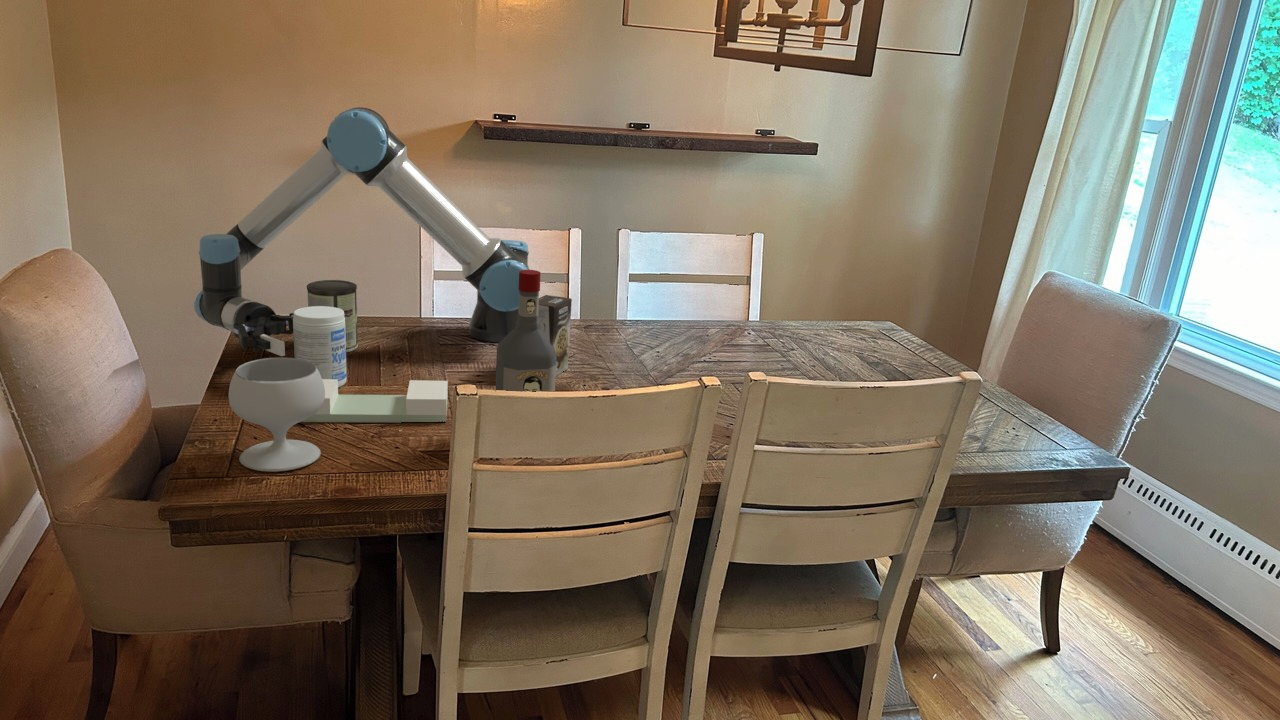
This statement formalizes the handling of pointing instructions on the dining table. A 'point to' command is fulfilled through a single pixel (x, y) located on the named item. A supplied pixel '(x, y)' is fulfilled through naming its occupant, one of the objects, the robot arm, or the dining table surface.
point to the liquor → (526, 345)
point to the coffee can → (337, 304)
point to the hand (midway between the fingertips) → (314, 342)
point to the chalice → (277, 409)
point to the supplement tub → (321, 340)
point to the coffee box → (556, 326)
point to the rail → (385, 404)
